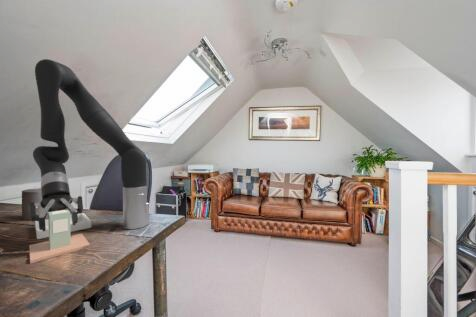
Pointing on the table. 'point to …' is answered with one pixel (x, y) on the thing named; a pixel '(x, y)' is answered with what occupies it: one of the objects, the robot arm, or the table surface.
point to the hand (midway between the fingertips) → (59, 226)
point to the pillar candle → (28, 197)
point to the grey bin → (81, 224)
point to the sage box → (59, 229)
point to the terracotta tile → (44, 252)
